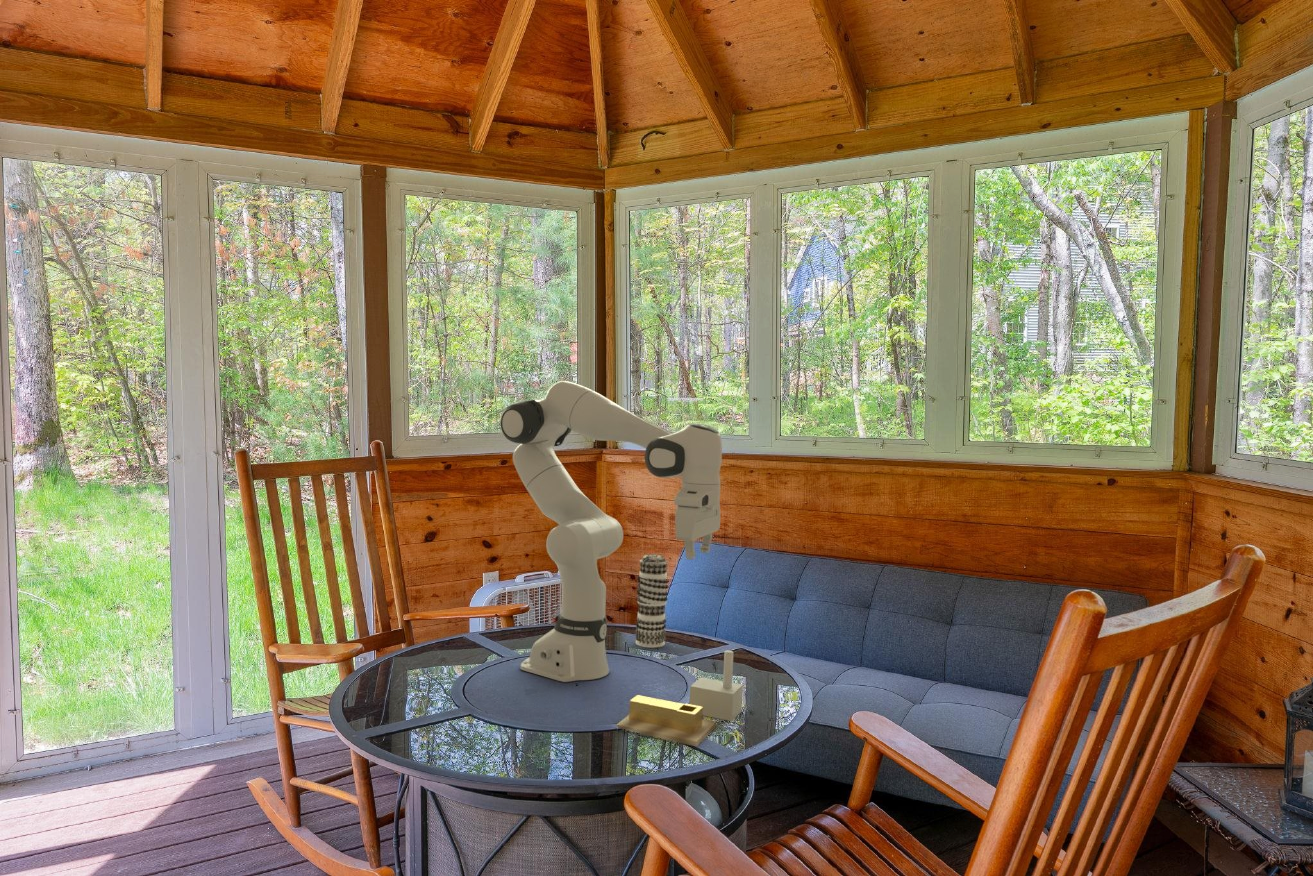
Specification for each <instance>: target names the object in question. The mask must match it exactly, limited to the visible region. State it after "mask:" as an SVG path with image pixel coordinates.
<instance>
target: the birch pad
mask: <svg viewBox="0 0 1313 876" xmlns="http://www.w3.org/2000/svg"><path fill="white" fill-rule="evenodd" d="M615 727H618V728H622V729H626V730H629V731H634V732H637V733H641V734H643V735H642V736H646V735H647V736H646V737H650V736H653V737H652V738H656V739H660V738H661V739H660V740H664V741H668V742H675V743H679V744H684V745H686V746H687V745H688V746H693V747H698V746H699V745H700V744H701V743H702V742H703V741H704V740H705V739H706V737H708V735H710V733H711V732H712V731H713V730H714V729H715V728H716V727H717V721H713V720H709V719H705V718H703V719H702V726H701V727H700V728H699V729H698V730H697V731H696V732H695V733H694V734H693V733H689V732H684V731H679V730H676V729H674V728H669V727H665V726H660V725H655V724H650V723H645V722H640V721H636V720H631V719H629V714H628V715H627V716H626V717H624V718H623V719H621V721H619V722H618V723H617V724H616V725H615ZM641 734H640V735H641ZM700 742H701V743H700ZM697 745H698V746H697Z"/></svg>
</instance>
